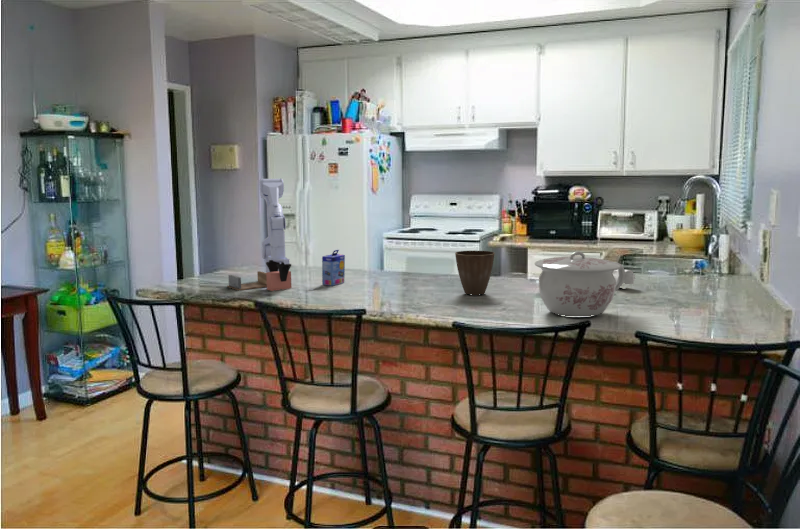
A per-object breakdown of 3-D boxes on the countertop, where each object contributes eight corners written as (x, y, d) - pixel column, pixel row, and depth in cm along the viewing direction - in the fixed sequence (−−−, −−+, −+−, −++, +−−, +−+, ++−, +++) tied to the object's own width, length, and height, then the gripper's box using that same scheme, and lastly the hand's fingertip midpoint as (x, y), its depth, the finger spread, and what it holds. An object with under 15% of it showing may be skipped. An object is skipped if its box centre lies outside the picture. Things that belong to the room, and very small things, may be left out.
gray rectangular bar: (231, 285, 266) (231, 274, 265) (241, 288, 259) (240, 277, 258) (228, 285, 265) (228, 275, 264) (238, 288, 258) (237, 277, 257)
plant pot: (447, 294, 246) (447, 253, 244) (467, 288, 258) (468, 249, 256) (481, 299, 237) (482, 256, 235) (501, 293, 249) (501, 252, 247)
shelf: (261, 282, 275) (261, 271, 274) (272, 286, 267) (272, 274, 266) (227, 287, 265) (226, 275, 264) (237, 290, 257) (237, 278, 257)
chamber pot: (524, 319, 206) (526, 254, 203) (542, 302, 231) (543, 245, 228) (616, 327, 195) (619, 259, 192) (624, 309, 220) (627, 248, 217)
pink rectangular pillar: (286, 287, 265) (286, 270, 264) (291, 288, 262) (291, 271, 261) (266, 289, 260) (266, 272, 259) (271, 291, 257) (271, 273, 256)
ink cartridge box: (332, 286, 266) (332, 251, 264) (321, 285, 268) (320, 250, 266) (345, 282, 274) (345, 248, 272) (334, 281, 277) (334, 248, 275)
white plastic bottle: (597, 282, 272) (598, 263, 271) (635, 289, 256) (635, 269, 255) (584, 284, 268) (585, 265, 267) (621, 291, 252) (622, 271, 251)
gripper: (260, 245, 262) (261, 278, 264) (277, 249, 250) (278, 283, 252) (276, 244, 266) (277, 277, 268) (293, 247, 255) (294, 281, 257)
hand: (279, 280), depth 260 cm, fingers open, 7 cm apart
